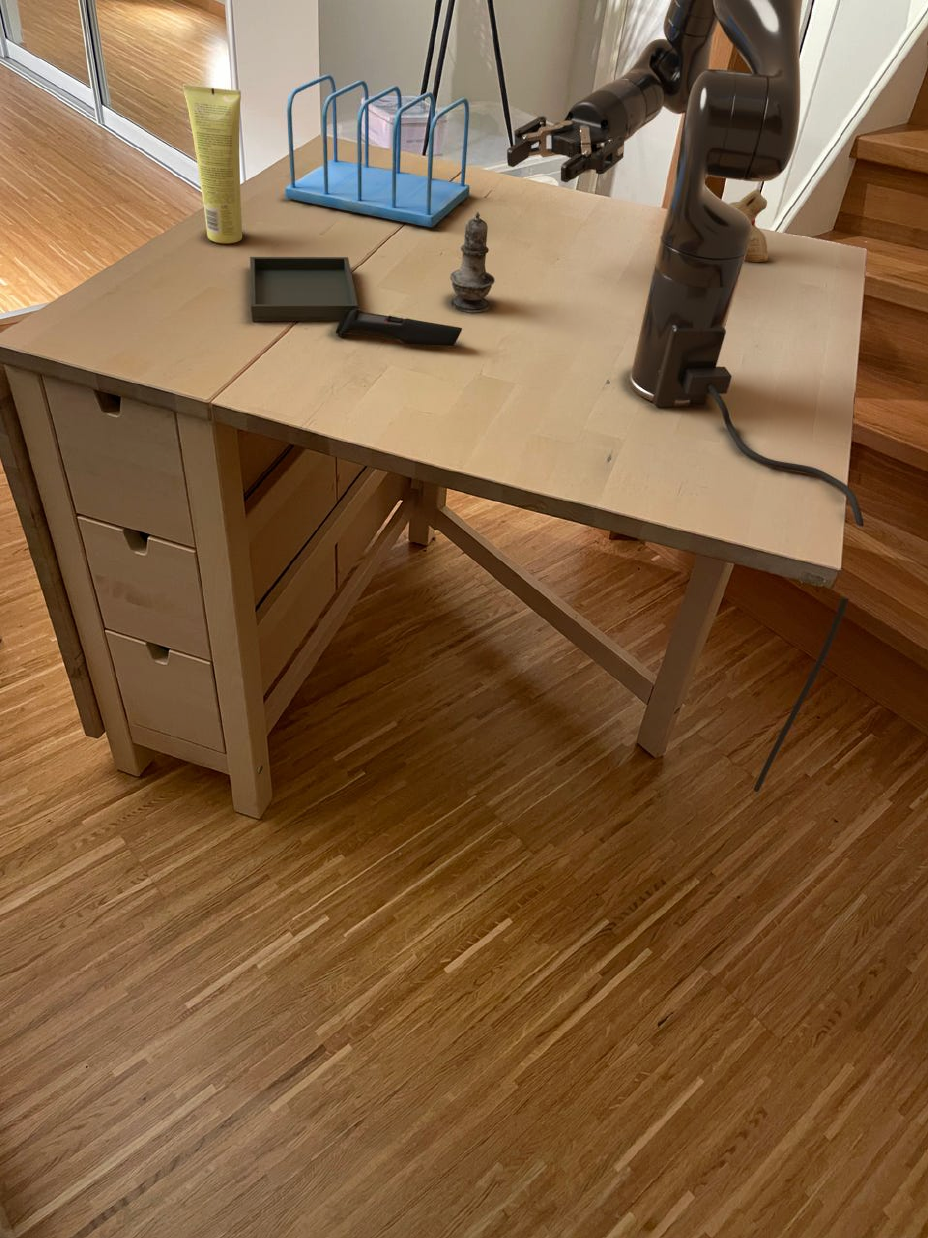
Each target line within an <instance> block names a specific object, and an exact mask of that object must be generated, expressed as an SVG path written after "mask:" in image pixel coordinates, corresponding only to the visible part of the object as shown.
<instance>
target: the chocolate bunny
mask: <svg viewBox="0 0 928 1238" xmlns="http://www.w3.org/2000/svg"><path fill="white" fill-rule="evenodd" d="M728 204H729V205H731V206H733V207H735V208H736V209H738V210H740V211H741V212H743V213H744V214H745V215H746V216H747V217H748V218H749V220H750V221H751V224H752V234H751V239H750V242H749V246H748V249H747V252H746V256H745V259H744V262H750V263H763V262H768V261H769V257H770V254H769V251H768V244H767V239H766V236H765V234H764V233H763V232H762V230H760V228H759V227H757V226H756V218H757V216H758V215H759V214H760V213H761V212H762V211H764V210H765V209H766V208H767V205H768V201H767V199H766V198H765V197H763V195H762V193H761V192H760V189H759V188H756V189H754V190H753V191H751V192H750V193H748V194H747V195H745V196H744V197H743V198H742V199H740V200H739V201H734V202H730V203H728Z"/></svg>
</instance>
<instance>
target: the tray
mask: <svg viewBox="0 0 928 1238" xmlns="http://www.w3.org/2000/svg"><path fill="white" fill-rule="evenodd" d="M249 265H250V266H249V270H250V271H249V276H250V280H249V281H250V312H251V322H340V321H341V319H342V317H343V316H344V314H345V312H346V311H347V309H348V310H350V311H352V310H354V309H356V308H357V309H359V304H358V299H357V295H356V290H355V285H354V280H353V279H354V278H353V274H352V270H351V265H350V259H349V257H348V256H250V257H249Z"/></svg>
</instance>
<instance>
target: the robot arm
mask: <svg viewBox="0 0 928 1238" xmlns="http://www.w3.org/2000/svg"><path fill="white" fill-rule="evenodd" d="M802 7H803V0H670V1H669V4H668V8H667V11H666V13H665V16H664V21H663V27H662V28H663V34H664V36H665V38H657V39H653V40H652V41H650V42H649V43H648V44H647V45H646V46H645V47H644V48H643V50H642V51H641V53H640V55H639V56H638V59H637V60H636V61H635V63H633V66H631V68H630V69H629V70H628V71H627V72H626V73H624V74H623V75H622V76H620V77H619V78H618V79H616V80H614V81H612V82H609V83H607V84H605V85H603V86H601V87H600V88H598V89H597V90H595V91H594V92H591V93H590V94H589V95H586V96H585V97H584V98H583V99H581V100H579V101H578V102H576V103H575V104H574V105H572V107H571V108H570V109H569V111H568V112H567V115H566V116H565V118H564V120H562V121H559V122H555V123H554V124H550V123H547V117H546V116H543V115H542V116H537V117H536V118H534V119H533V120H531V121H528V123H526V124H524V125H522V126H520V127H518V128H517V129H515V130H514V133H513V135H514V144H513V145H511V146H510V147H508V148H507V149H506V160H507V161H506V162H507V165H508V167H510V168H515V167H516V166H518V165H520V164H521V163H522V162H524V161H525V160H527V159H529V157H533V156H539V155H540V157H542V158H548V157H554V156H565V157H567V158H569V159H567V160H566V161H565V162H563V163H562V164H561V166H560V181H561V182H563V183H569V182H570V181H571V180H575V179H576V178H578V177H579V176H581V175H582V174H588V173H591V171H595V174H597V175H604V174H605V173H606V172H608V171H609V170H610V169H611V168H613V167H614V166H615V165H616V164H617V163H619V162H620V161H621V160H622V159H624V154H625V142H626V141H628V140H629V139H630V138H632V137H633V136H634V135H635V134H636V133H637V132H638V131H639V130H640V129H642V128H643V127H645V126H646V125H648V124H649V123H650V122H652V121H653V120H654V119H655V118H656V117H658V116H659V114H660V113H661V111H662V110H663V108H664V109H666V110H667V111H669V112H670V113H672V114H674V115H682V114H684V117H683V120H682V121H683V122H682V126H681V127H682V128H681V134H680V139H679V147H678V153H677V160H676V166H675V170H674V171H675V172H674V175H673V182H672V187H671V190H670V196H669V200H668V204H667V209H666V213H665V218H664V222H663V227H662V231H661V235H660V240H659V243H658V249H657V253H656V257H655V263H654V266H653V270H652V271H653V272H652V276H651V281H650V285H649V289H648V294H647V298H646V303H645V308H644V313H643V317H642V321H641V326H640V331H639V334H638V340H637V344H636V350H635V354H634V358H633V359H634V360H633V364H632V368H631V370H630V373H629V378H628V383H629V386H630V388H631V389H632V390H633V392H635V393H636V394H637V395H638V396H640V397H642V398H644V399H646V400H648V401H650V402H652V403H653V405H654V406H655V407H657V408H662V407H664V408H665V407H666V408H667V407H668V408H669V407H699V406H706V405H707V404H706V403H707V400H708V396H709V395H711V396H712V398H713V399H714V400H715V402H716V404H717V406H718V407H719V409H720V411H721V415H722V418H723V422H724V424H725V427H726V429H727V431H728V432H729V434H730V436H731V438H732V440H733V441H734V442H735V445H736V446H737V448H738V449H739V450H740V451H741V452H742V453H743V454H744V455H746V456H748V457H749V458H751V459H752V460H754V461H757V462H758V463H760V464H763V465H766V466H769V467H773V468H777V469H780V470H781V469H782V470H787V471H788V470H789V471H795V472H800V473H805V474H809V475H813V476H815V477H818V478H820V479H822V480H824V481H825V482H827V483H829V484H830V485H832V486H834V487H836V488H837V489H838V490H840V491H841V492H842V493H843V494H844V495H845V496H846V498H847V500H848V501H849V504H850V506H851V509H852V513H853V516H854V520H855V524H856V525H857V526H859V527H864V526H865V523H864V518H863V514H862V511H861V508H860V507H861V506H860V505H859V502H858V500H857V497H856V496H855V493H854V492H853V491H852V489H851V488H850V487H849V486H848V485H847V484H845V483H844V482H843V481H841V480H839V479H838V478H836V477H834V476H833V475H830V474H829V473H827V472H825V471H823V470H821V469H818V468H816V467H812V466H808V465H803V464H798V463H793V462H792V463H791V462H786V461H780V460H775V459H772V458H768V457H766V456H764V455H761V454H759V453H758V452H756V451H754V450H753V449H751V448H749V447H748V446H747V445H746V444H745V443H744V441H742V439H741V438H740V436H739V434H738V432H737V431H736V429H735V426H734V425H733V422H732V420H731V416H730V412H729V409H728V408H727V405H726V402H724V400H723V398H722V396H721V395H727V393H728V392H729V391H728V390H729V387H730V384H731V381H732V378H733V377H732V376H733V375H732V374H731V373H730V371H729V370H728V369H727V367H726V366H717V365H718V362H719V358H720V354H721V351H722V348H723V344H724V340H725V337H726V333H727V330H726V325H727V322H728V318H729V315H730V312H731V308H732V306H733V305H732V304H733V301H734V297H735V294H736V290H737V286H738V283H739V280H740V277H741V273H742V270H743V266H744V263H745V261H744V259H745V256H746V252H747V249H748V246H749V242H750V239H751V234H752V224H751V221H750V220H749V218H748V217H747V216H746V215H745V214H744V213H743V212H741V211H740V210H738V209H736V208H735V207H733V206H731V205H729V204H730V203H727V202H726V201H724V200H722V199H721V198H719V197H718V196H717V195H716V194H714V193H713V192H712V190H711V189H710V188H708V186H707V184H706V183H705V182H706V180H707V178H708V177H713V178H722V179H728V180H729V179H730V180H738V181H743V182H744V181H745V182H769V181H773V180H774V179H776V178H778V177H779V176H781V174H782V173H783V172H784V170H785V169H786V168H787V166H788V164H789V162H790V161H791V159H792V156H793V153H794V150H795V147H796V143H797V138H798V132H799V127H800V126H799V125H800V116H801V65H800V63H801V62H800V27H801V17H802V16H801V15H802ZM718 25H720V27H721V29H722V31H723V33H724V34H725V36H726V37H727V38H728V41H730V43H731V44H732V46H733V47H734V48H735V49H736V51H737V52H738V54H739V55H740V56H741V58H742V59H743V60H744V62H745V63H746V64H747V66H748V68H749V70H750V71H751V72H745V71H737V70H736V71H735V70H728V69H720V68H719V69H718V68H710V65H711V55H712V47H713V41H714V35H715V33H716V29H717V27H718ZM548 136H550V147H549V148H547V139H548V138H547V137H548ZM537 143H538V146H537V147H533V146H534V145H536V144H537ZM849 600H850V598H849V597H848V598H842V599H840V602H839V605H838V608H837V611H836V613H835V616H834V619H833V621H832V624H831V627H830V629H829V632H828V635H827V636H826V639H825V642H824V644H823V646H822V649H821V650H820V653H819V655H818V657H817V659H816V661H815V664H814V665H813V668H812V670H811V672H810V674H809V676H808V678H807V680H806V682H805V684H804V685H803V688H802V690H801V692H800V695H798V698H797V700H796V702H795V704H794V706H793V708H792V710H791V712H790V713H789V716H788V717H787V719H786V721H785V724H784V725H783V727H782V729H781V731H780V733H779V735H778V737H777V739H776V741H775V743H774V744H773V747H772V749H771V751H770V753H769V755H768V757H767V760H766V762H765V763H764V765H763V768H762V770H761V772H760V774H759V776H758V778H757V780H756V782H755V785H754V787H753V791H754V792H755V793H759V792H760V790H761V788H762V786H763V784H764V781H765V779H766V777H767V774H768V772H769V770H770V768H771V767H772V765H773V762H774V760H775V758H776V756H777V754H778V752H779V751H780V748H781V747H782V744H783V742H784V741H785V739H786V736H787V735H788V733H789V731H790V729H791V727H792V725H793V724H794V721H795V720H796V717H797V716H798V713H799V712H800V710H801V708H802V706H803V704H804V702H805V700H806V698H807V697H808V694H809V693H810V692H811V691H810V690H811V688H812V686H813V684H814V683H815V681H816V678H817V676H818V674H819V673H820V671H821V668H822V666H823V664H824V662H825V660H826V658H827V656H828V654H829V651H830V649H831V646H832V644H833V641H834V640H835V638H836V635H837V633H838V630H839V628H840V624H841V622H842V619H843V617H844V614H845V611H846V609H847V605H848V602H849Z"/></svg>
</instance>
